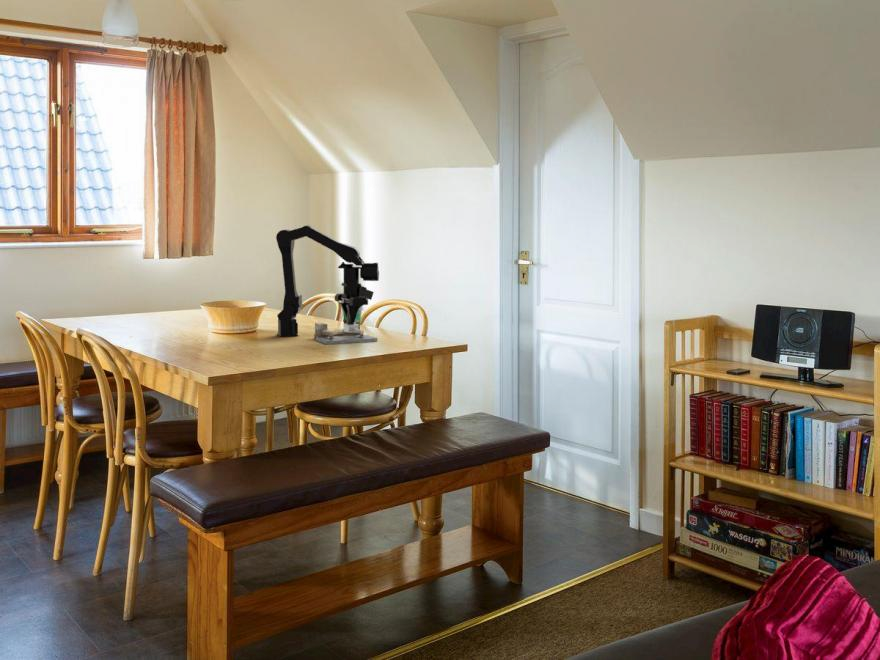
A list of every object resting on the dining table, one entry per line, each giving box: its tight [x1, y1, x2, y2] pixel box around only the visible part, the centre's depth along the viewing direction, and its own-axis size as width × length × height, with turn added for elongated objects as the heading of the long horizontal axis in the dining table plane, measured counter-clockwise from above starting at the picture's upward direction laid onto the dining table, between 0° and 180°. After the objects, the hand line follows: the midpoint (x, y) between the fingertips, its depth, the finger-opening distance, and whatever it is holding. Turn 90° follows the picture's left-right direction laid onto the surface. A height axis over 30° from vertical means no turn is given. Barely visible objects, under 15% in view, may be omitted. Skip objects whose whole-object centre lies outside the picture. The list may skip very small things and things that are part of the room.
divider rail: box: [313, 322, 360, 339], centre depth 335 cm, size 18×13×6 cm
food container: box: [342, 306, 364, 330], centre depth 361 cm, size 12×6×10 cm, turn 168°
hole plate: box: [315, 334, 378, 345], centre depth 330 cm, size 20×10×1 cm, turn 118°
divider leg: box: [343, 311, 364, 336], centre depth 337 cm, size 4×13×8 cm, turn 28°
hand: (351, 322), depth 341 cm, fingers closed on divider leg, 3 cm apart
